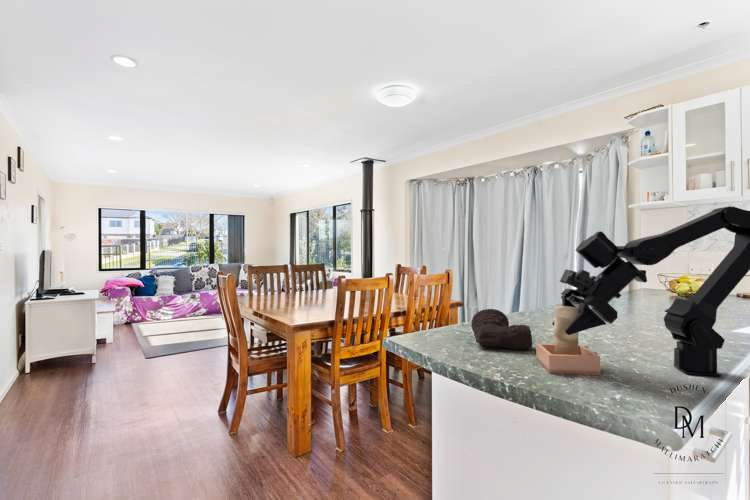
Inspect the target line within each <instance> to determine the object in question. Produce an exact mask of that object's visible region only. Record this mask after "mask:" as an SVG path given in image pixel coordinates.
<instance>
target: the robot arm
mask: <svg viewBox="0 0 750 500" xmlns="http://www.w3.org/2000/svg"><path fill="white" fill-rule="evenodd" d="M721 229H724V230H726V231H728V232H731V233H734V243H733V247H732V248H731V250H730V251H729V252H728V253H727V255H726V256H725V257H724V258H723V259H722V261H720V263H719V264H718V265H717V266H716V267H715V268H714V270H713V271H712V272H711V273H710V275H709V276H708V277H707V278H706V279H705V281H704V282H703V283H702V284H701V286H700V287H699V288H698V289H697V290H696V291H695V293H694V294H693V295H692V296H691V297H688V298H686V299H684V298H679V297H676V298H675V299H674V301H673V302H672V303H671V306H669V308H667V309H665V310H664V312H665V315H664V317H663V322H664V326H665V328H666V329H667V330H668V331H669V332H670V333H671V336H672V339H673V340H674V341H675V340H676V347H674V348H673V349H674V350H673V353H674V354H673V359H674V361H673V362H674V363H673V367H675V368H676V369H678V370H679V371H681V372H683V373H684V374H685V375H696V376H697V375H698V376H710V377H722V375H723V374H722V373H720V372H719V371H718V349H722V348H723V345H724V343H725V342H726V341H725V338H724V337H723V336H722V335H721V334H720V333H718V332H717V331H716V330H715V329H714V328H713V327H714V325H715V324H716V321H717V310H718V308H719V307H720V306H721V304H722V303H723V302H724V301H725V300H726V299H727V298H728V296H729V295H730V294H731V293H732V292H733V290H734V289H735V288H736V287H737V286H738V284H740V282H741V281H742V280H743V278H744V277H745V276H747V274H748V272H749V271H750V210H746V209H742V208H740V207H739V208H738V207H736V206H730V205H729V206H724V207H718V208H715V209H712V210H711V211H709V212H708V213H705V214H703V215H700V216H698V217H696V218H695V219H692V220H690V221H687V222H685V223H682V224H681V225H679V226H675V227H674V228H673V227H672V229H670V230H667V231H664V232H662V233H658V234H654V235H653V234H652V235H649V236H645V237H641V238H638V239H634V240H630V241H628V242H627V243H626V244H625V245H618V246H617V245H616V244H615V243H614V242H613V241H611V240H610V239H609V238H608V237H607V235H606V234H605V233H604V232H603V231H600V230H599V231H596V232H595V233H594V234H593V235H591V236H589V237H588V238H586V239H585V240H583V241H582V242H581V243H579V244H578V246H577V247H576V249H575V251H576V253H578V255H580V256H581V257H582V258H583V259H584V260H585V261H586V262H587V263H588V264H589V265H591V266H592V267H593V268H594V269H596V268H597V269H598V268H601V269H603V270H602V271H600V273H599V274H597V276H596V275H591V274H590V273H591V272H589V271H587V270H584V269H580V270H578V271H577V272H576V271H574V270H572V269H564V271H563V274H562V276H561V278H560V280H559V282H561V283H563V284H566V285H569V286H571V287H574V288H576V289H574V288H565V289H564V290H563V291H562V292H561V293H560V295H561V297H560V298H561V302H562V303H561V306H568V307H576V308H578V315H577V316H576V318H575V319H574V320H573V321H572V323H571V324H570V325H569V326H568V328H567V329H566V330H565V333H566V334H568V335H571V334H574V333H577V332H578V333H580V332H583V331H586V330H590V329H593V328H596V327H600V326H606V325H607V323H608V324H610V325H611V324H613V322H615V321H616V320H617V319H618V311H617V310H616V309H615V308H614V307H613V306H612V305H611V304H610V303H611V301H612V300H614V298H615V299H619V298H621V296H622V294H621V292H622V291H624V290H625V288H626V287H627V286H629V285H630V284H631V283H632V282H633V281H636V282H638V283H639V282H640V283H647V282H648V278H647V270H646V269H645V270H644V269H639V268H638V267H637V266H636V265H639V266H640V265H641V266H654V265H656V264H658V263H660V262H662V261H663V260H664V259H666V258H668V257H669V256H671V254H673V252H674V251H675V250H677V249H679V248H680V247H683V246H685V245H687V244H689V243H691V242H695V241H696V240H698V239H701V238H703V237H705V236H708V235H710V234H713V233H714V232H717V231H720V230H721ZM623 259H625V260H626V261H625V260H623ZM551 324H552V325H553V326H554V320H553V321H552V322H551Z"/></svg>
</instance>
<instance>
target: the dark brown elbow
mask: <svg viewBox="0 0 750 500" xmlns="http://www.w3.org/2000/svg"><path fill="white" fill-rule="evenodd" d="M471 329H472V332H473V335H474V338H475V342H476V343H478V344H479V346H480V347H482V348H490V349H491V348H493V349H494V348H509V349H512V350H518V351H522V350H523V351H525V350H526V351H527V350H529V349H532V347H533V337H532V336H533V335H532V331H531V327H530V326H529V325H527V324H513V325H510V323H509V319H508V317H507V315H506V314H505V313H504V312H502V311H501V310H498V309H495V308H486V309H482V310H480V311H478V312H476V313H475V314H474V315H473V316H472V319H471Z"/></svg>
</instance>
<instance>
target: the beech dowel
mask: <svg viewBox="0 0 750 500" xmlns="http://www.w3.org/2000/svg"><path fill="white" fill-rule="evenodd" d="M553 309H554V311H553V312H554V317H553V318H554V319H553V321H554V325H553V328H554V330H553V331H554V332H553V333H554V344H555V354H559V355H579V352H578V345H579V332H577V333H574V334H571V335H568V334H566V333H565V330H566V329H567V328H568V326H569V325H570V324H571V323H572V321H573V320H574V319H575V318H576V316H577V315H578V308H576V307H568V306H562V305H560V306H557V305H556V306H554V308H553Z"/></svg>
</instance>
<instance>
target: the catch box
mask: <svg viewBox="0 0 750 500" xmlns="http://www.w3.org/2000/svg"><path fill="white" fill-rule="evenodd" d="M583 345H584V344H578V352H579V355H559V354H555V343H536V344H535V346H536V357H535V359H536V361H537V362H538V363H539V364H540V365H541V366H542V368H544V369H545V370H546V371H547V373H549V374H562V375H563V374H565V375H586V376H587V375H588V376H589V375H590V376H601V375H602V374H601V372H602V371H601V356H600V355H599V354H598V353H597V354H595V353H594V352H592V351H593V350H590V349H589V348H586V347H584V346H583Z"/></svg>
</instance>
